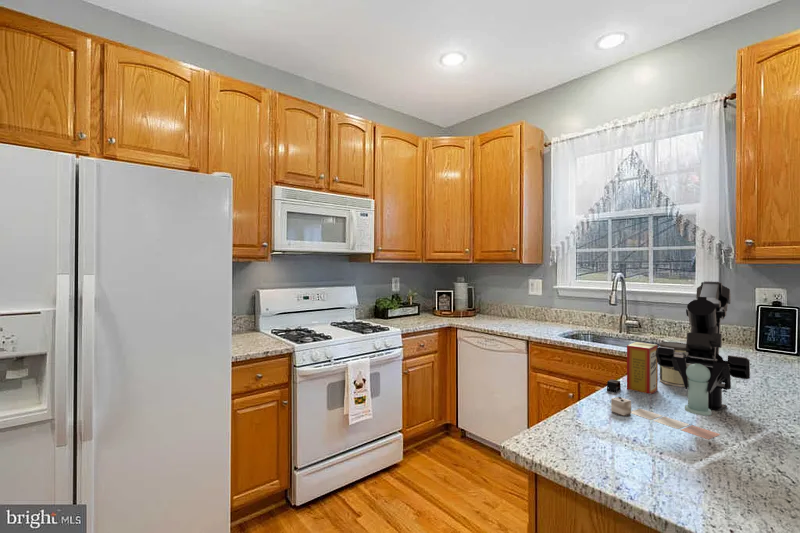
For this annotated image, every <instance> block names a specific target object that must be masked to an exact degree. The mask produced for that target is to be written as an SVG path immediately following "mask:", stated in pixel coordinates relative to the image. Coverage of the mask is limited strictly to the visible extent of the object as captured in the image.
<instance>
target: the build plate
mask: <svg viewBox="0 0 800 533" xmlns="http://www.w3.org/2000/svg"><path fill="white" fill-rule="evenodd" d="M606 382H607V383H606V392H610V393H616V394H617V393H618V391H621V387H622V385H621V380H617V379H616V380H615V379H609V380H607V381H606Z"/></svg>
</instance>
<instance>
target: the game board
mask: <svg viewBox="0 0 800 533" xmlns="http://www.w3.org/2000/svg"><path fill="white" fill-rule="evenodd" d="M610 401H611V402H610V406H611V407H610V408H611V409H610V410H611V413H612V414H614V415H616V416H619V417H630V416H632V415H635V416H639V417H641V418H645V419H647V420H649V421H653V422H655V423H659V424H662V425H665V426H668V427H671V428H673V429H676V430H680V431H683V432H685V433H688V434H691V435H694V436H697V437H700V438H703V439H706V440H708V441H709V440H711V439H713V438H715V437H718V436H720V435H721V434H720V433H718V432H715V431H711V430H708V429H705V428H701V427H699V426H696V425H693V424H692V425H690V423H686V422H683V421H680V420H678V419H675V418H671V417H667V416H663V415H662V414H658V413H656V412H652V411H649V410H646V409H643V408H638V409H634V410H632V400H631V399H627V398H624V397H621V396H617V397H616V396H615V397H613V398H611V399H610Z"/></svg>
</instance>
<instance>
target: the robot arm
mask: <svg viewBox="0 0 800 533" xmlns="http://www.w3.org/2000/svg"><path fill="white" fill-rule="evenodd" d="M731 295H732V294H731V289H730V288H728V287H727V286H724V285H723V282H720V281H712V280H711V281H709V280H707V281H705V280H704V281H701V283H700V285H699V286H697V287H696V296H695V298H694V299H692V300H691V301H690V302H689V303H688V304H686V309H685V313H686V314H685V315H686V316H687V317H688V321H689V322H688V323H689V324H690V332H689V331H688V332H687V333H686V341H685V342H686V343H685V344H686V352H688V353H687V355H685V354H684V353H679V352H675V349H674V348H667V347H660V346H658V348H657V349H656V358H657V362H658V366H659V367H660V366H664V367H671V368H672V367H673V368H674V370H676V371H679V373H680V375H681V377H682V380H683V383H684V386H685V387H684V389H685V390H688V377H687V374H686V369H687V366H686V364H695V363H697V364H702V365H704V366H705V367H707V368H708V370H709V371H710V379H709V380H708V409H710V410H714V411H720V410H723V409H725V408H728V405H727V404H723V390H726V391H728V390H731V388H732V383H731V382H732V381H731V380H732V378H736V379H741V380H743V379H744V380H749V379H751V376H750V375H751V364H750V363H751V362H750V359H749V358H748V357H745V356H737V355H729V354H728V355H727V360H724V359H723V357H722V356H721V355H720V349H721V348H722V344H723V343H722V342H723V338H722V337H723V335H722V333H721V321H723V320H724V319H725V317H727V311H728V305H731V300H732V299H731ZM731 377H732V378H731Z"/></svg>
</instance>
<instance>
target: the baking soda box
mask: <svg viewBox="0 0 800 533" xmlns="http://www.w3.org/2000/svg"><path fill="white" fill-rule="evenodd" d="M658 347H659V346H658V344H654V343H647V342H641V341H640V342H639V341H635V342H632V343H630V344H627V345H626V390H631V391H635V392H639V393H643V394H651V395H654V394H655V393H656V392H658V386H659V384H658V374H659V373H658V371H659V370H658V368H659V367H658V366H659V365H658V362H657V358H656V349H657V348H658Z"/></svg>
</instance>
